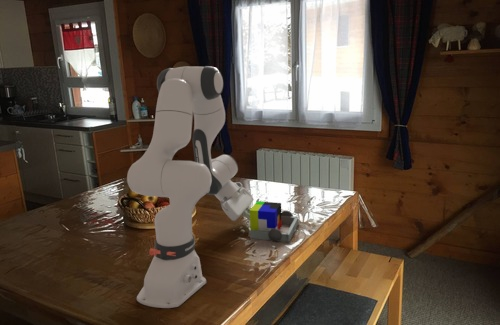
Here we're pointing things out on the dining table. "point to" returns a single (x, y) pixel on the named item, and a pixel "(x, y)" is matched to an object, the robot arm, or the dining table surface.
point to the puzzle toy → (265, 216)
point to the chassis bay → (275, 233)
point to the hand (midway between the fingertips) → (252, 218)
